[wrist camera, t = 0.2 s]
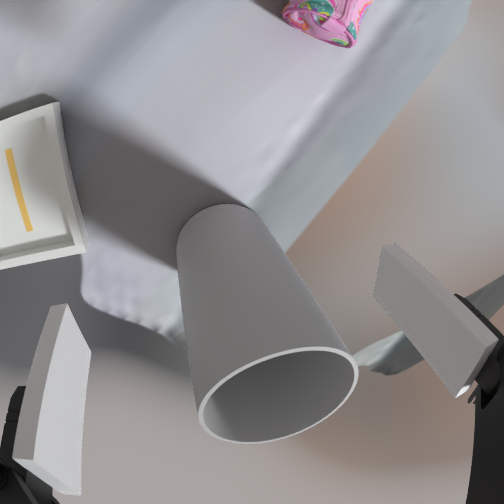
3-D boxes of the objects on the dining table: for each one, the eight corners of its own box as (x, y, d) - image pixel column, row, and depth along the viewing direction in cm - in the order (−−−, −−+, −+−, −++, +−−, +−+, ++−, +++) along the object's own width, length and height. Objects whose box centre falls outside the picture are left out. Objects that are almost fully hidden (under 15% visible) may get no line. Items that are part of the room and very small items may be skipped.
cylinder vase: (163, 272, 43) (177, 441, 22) (196, 188, 38) (241, 333, 17) (244, 293, 48) (304, 441, 27) (283, 219, 43) (387, 353, 22)
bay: (-38, 138, 26) (-47, 142, 23) (59, 101, 28) (52, 102, 26) (-1, 261, 35) (-7, 271, 33) (90, 242, 38) (86, 252, 36)
